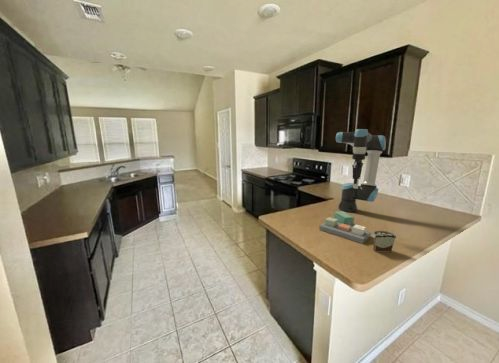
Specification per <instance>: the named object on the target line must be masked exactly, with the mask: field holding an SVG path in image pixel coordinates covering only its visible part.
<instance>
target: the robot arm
mask: <svg viewBox="0 0 499 363" xmlns="http://www.w3.org/2000/svg"><path fill="white" fill-rule="evenodd" d="M335 141H336V143H339V144H347V145H350V146H352V160H354V162H353V164H352V167H351V168H352V179H353V182H347V183H343V185H342V188H341V199H340V201H339V204H338V207H337V208H338V210H339V211H344V212H345V213H356V212H358V205H357V200H358V201H359V200H360V201H364V202H367V203H368V202H370V203H373V202H375V201H376V199H377V197H378V193H379V188H378V187H377V184H376V181H377V180H376V179H377V172H378V169H379V161H380V157H381V154H382V153H383V151H385V150H386V146H387V140H386V136H385V135H382V134H381V135H379V134H375V135H374V134H371V133H370V132H369V130H368V129H367V128H366V129H365V128H364V129H363V128H356V129H355V131H353V132H352V131H339V132H337V133H336V135H335ZM366 153H367V157H366ZM365 159H366V164H365V167H364V168H365V170H364V175H363V180H362V182H361V183H360V185H359V182H360V180H361V176H362V175H361V174H362V169H363V166H364V163H363V160H365Z"/></svg>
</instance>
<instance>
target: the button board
mask: <svg viewBox="0 0 499 363" xmlns="http://www.w3.org/2000/svg"><path fill="white" fill-rule="evenodd" d="M340 224H341V223H337V225H336V226H335V227H331V226H327V225H325V222H323V223H321V224H319V227H318V228H319V231H322V232H326V233H328V234H331V235H334V236H337V237H341V238H343V239H347V240H349V241H352V242H355V243H360V244H362V245H363V244H364V243H365V242H366V241H368V239H369V238H370V237H371V233H372V232H371V231H369V230H366V231H365V234H364V235H363V236H360V235H357V234H354V233H352V228H353V227H351V230H349V231H348V232H346V231H343V230H340V229H338V226H339V225H340Z"/></svg>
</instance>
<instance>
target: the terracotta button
mask: <svg viewBox="0 0 499 363" xmlns="http://www.w3.org/2000/svg"><path fill="white" fill-rule="evenodd" d="M338 229H340V230H343V231H346V232H348V231H349V230H351V226H350V225H346V224H343V223H342V224H340V225H339V226H338Z"/></svg>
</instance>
